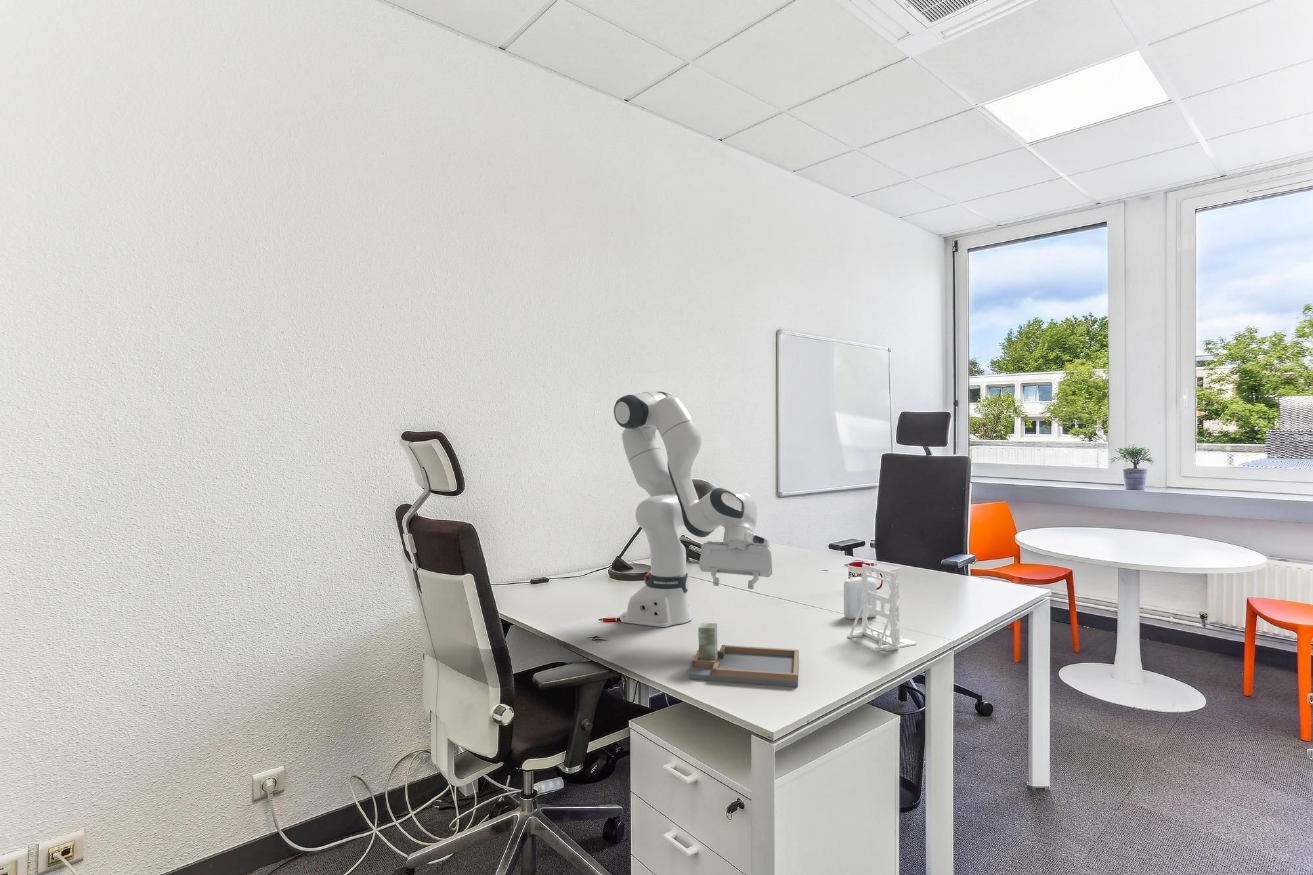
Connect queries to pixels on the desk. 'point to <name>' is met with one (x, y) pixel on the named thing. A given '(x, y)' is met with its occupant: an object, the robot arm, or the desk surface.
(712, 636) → the green peg
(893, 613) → the white perforated frame
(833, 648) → the desk surface
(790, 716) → the desk surface
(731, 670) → the keyhole dock
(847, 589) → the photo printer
